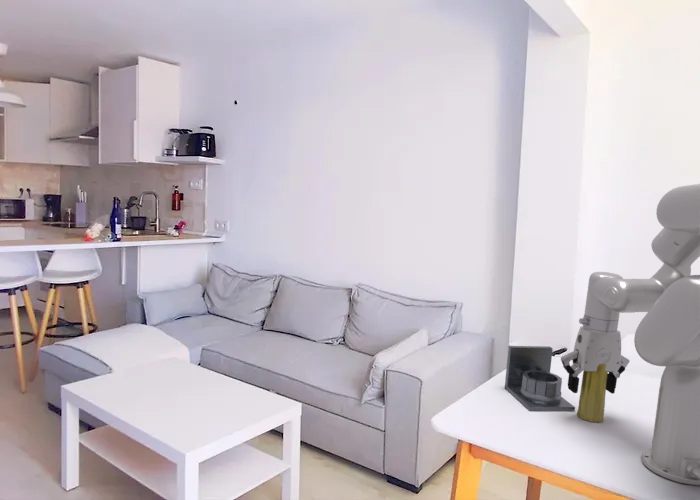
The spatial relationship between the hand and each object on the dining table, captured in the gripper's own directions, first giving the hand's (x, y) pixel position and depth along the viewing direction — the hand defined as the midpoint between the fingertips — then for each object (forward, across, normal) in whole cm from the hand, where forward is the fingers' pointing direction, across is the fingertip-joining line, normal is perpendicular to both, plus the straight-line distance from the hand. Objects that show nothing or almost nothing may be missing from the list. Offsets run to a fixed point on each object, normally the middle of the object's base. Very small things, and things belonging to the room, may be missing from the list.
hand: (590, 391), depth 130 cm
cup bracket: (+7, -8, +9) cm, 14 cm away
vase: (+7, 0, -1) cm, 7 cm away
